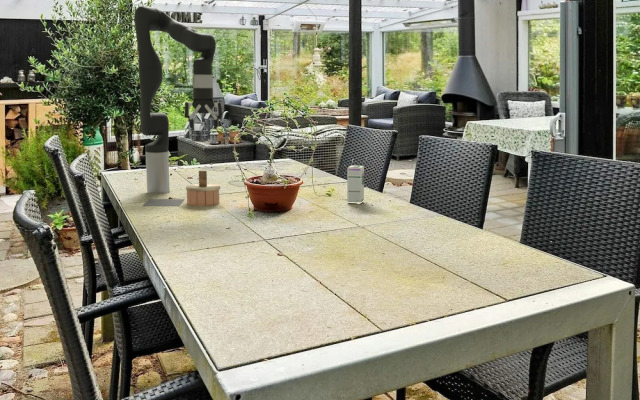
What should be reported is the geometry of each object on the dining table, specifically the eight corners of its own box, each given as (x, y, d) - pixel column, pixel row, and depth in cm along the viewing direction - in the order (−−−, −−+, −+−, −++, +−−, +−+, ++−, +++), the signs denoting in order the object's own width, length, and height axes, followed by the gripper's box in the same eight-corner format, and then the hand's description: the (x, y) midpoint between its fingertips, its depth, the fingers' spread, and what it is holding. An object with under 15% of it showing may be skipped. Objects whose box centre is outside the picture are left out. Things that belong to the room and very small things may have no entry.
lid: (188, 185, 254) (188, 168, 252) (221, 185, 254) (221, 168, 253) (183, 191, 241) (182, 173, 240) (218, 191, 241) (217, 173, 240)
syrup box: (361, 204, 250) (362, 167, 248) (346, 203, 251) (347, 166, 249) (363, 201, 256) (364, 165, 253) (349, 201, 257) (349, 165, 254)
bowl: (190, 200, 254) (189, 185, 253) (220, 200, 255) (220, 185, 254) (185, 206, 242) (184, 191, 241) (217, 206, 243) (217, 191, 242)
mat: (149, 200, 254) (149, 199, 254) (185, 200, 255) (185, 199, 255) (141, 207, 241) (141, 206, 241) (179, 207, 241) (179, 206, 241)
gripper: (222, 86, 251) (223, 128, 254) (185, 86, 251) (186, 128, 254) (220, 87, 244) (221, 130, 247) (182, 86, 243) (183, 129, 246)
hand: (204, 129), depth 250 cm, fingers open, 8 cm apart
